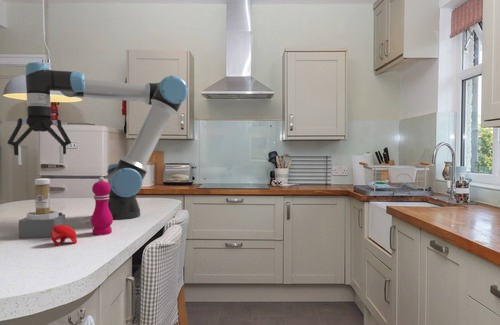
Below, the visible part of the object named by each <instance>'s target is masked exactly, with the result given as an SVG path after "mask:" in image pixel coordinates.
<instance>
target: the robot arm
mask: <svg viewBox="0 0 500 325" xmlns="http://www.w3.org/2000/svg"><path fill="white" fill-rule="evenodd" d="M85 77H86V76H85V74H84V73H83V72H80V71H76V70H74V71H72V70H71V71H68V70H54V69H51V68H50V66H49V65H48V64H47V63H44V62H34V61H33V62H28V63H27V64H26V65H25V85H26V86H25V88H26V104H27V105H28V106H27V107H26V111H27V112H26V113H27V119H24V118H23V119H22V118H20V117H19V118H18V119H17V120H16V121H17V122H16V126H15V128H14V129H13V131H12V133H11V135H10V136H9V139H8V140H7V141H6V142H7V144H8V145H10V146H13V155H14V156H17V165H21V166H22V165H23V164H22V146H20V144H21V143H22V142H23V141H24V140H26V138H27V136H29V134H31V133H32V132H43V133H44V132H47V133H49V134H50V135H51V137H52V138H54V139H55V140H56V141H57V142H58V144H60V145H59V146H58V152H59V155H58V156H59V163H60V164H64V155H67V154H66V153H67V145H71V143H72V142H71V139H70V138H69V136H68V134H67V132H66V131H65V129H64V128H63V126H62V121H61V119H56V120H55V119H54V120H53V119H52V110H51V109H52V108H51V91H52V92H53V91H54V92H57V91H58V92H60V93H61V94H62V95H64V96H65V97H68V98H74V97H76V98H77V97H79V98H92V99H105V100H115V101H116V100H117V101H129V102H130V101H131V102H138V103H139V102H141V103H142V102H143V103H145V104H146V105H147V106H148V105H149V106H151V107H150V110H149V111H148V114H147V115H146V117H145V119H144V121H143V123H142V124H141V127H140V128H139V131H138V132H137V135H136V137H135V138H134V140H133V143H132V144H131V146H130V148H129V150H128V152H127V154H126V156H124V157H122V158H119V161H118V163H111V164H109V165H108V167H107V171H106V172H107V183H109V184H110V187H111V190H110V192H109V193H108V195H109V199H108V207H109V210H110V212H111V214H112V217H113V220H126V219H134V218H137V217H140V216H141V209H140V207H139V203H138V200H137V194H138V193H139V192H140V190H141V189H142V186H143V182H144V178H145V177H146V174H147V172H148V170H147V164H148V162H149V160H150V158H151V156H152V154H153V152H154V150H155V148H156V146H157V145H158V142H159V140H160V139H161V136H162V134H163V132H164V130H165V128H166V127H167V124H168V122H169V120H170V119H171V117H172V116H173V115H176V114H177V112H178V111H179V109H180V107H181V105H182V103H183V102H184V101H185V100H186V99H187V97H188V94H189V89H188V85H187V83H186V82H185V80H184V79H182V78H181V77H180V76H176V75H169V76H165V77H163V79H161V81H160V82H155V83H154V82H147V83H146V84H141V83H132V82H131V83H130V82H121V81H111V80H110V81H109V80H100V79H91V78H89V79H88V78H85ZM25 124H26V125H28V128H27V129H26V130H25V131H24V132H23V133H22V134H21V135H20V136H19V137H18V138H17V139H16V137H17V135H18V133H19V131H20V130H21V128H22V126H24V125H25ZM53 125H54V126H55V127H56V128H57V130H58V131H59V133H60V135H61V136H62V138H61V137H60V136H59V135H58V133H56V131H55V130H54V129H53V128H52V127H51V126H53ZM15 139H16V141H15Z"/></svg>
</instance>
